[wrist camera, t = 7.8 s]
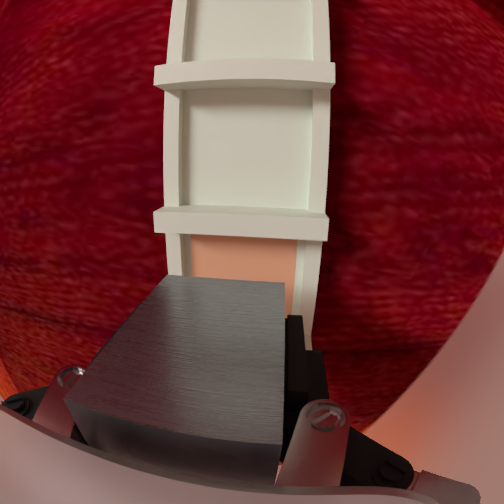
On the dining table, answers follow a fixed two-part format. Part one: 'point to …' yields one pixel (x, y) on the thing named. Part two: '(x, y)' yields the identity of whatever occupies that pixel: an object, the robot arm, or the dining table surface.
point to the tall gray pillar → (192, 381)
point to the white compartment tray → (247, 143)
